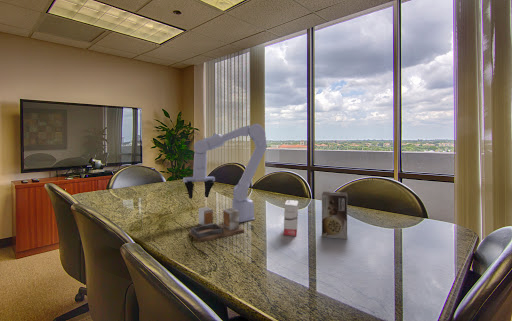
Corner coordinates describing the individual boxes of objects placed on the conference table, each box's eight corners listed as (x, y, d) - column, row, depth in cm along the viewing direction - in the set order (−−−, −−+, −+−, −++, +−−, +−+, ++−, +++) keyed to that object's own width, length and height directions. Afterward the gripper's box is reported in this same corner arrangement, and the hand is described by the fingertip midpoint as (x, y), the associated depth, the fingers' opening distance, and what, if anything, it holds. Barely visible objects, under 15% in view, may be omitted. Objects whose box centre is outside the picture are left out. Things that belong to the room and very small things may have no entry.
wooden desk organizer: (231, 224, 115) (230, 206, 115) (244, 232, 106) (243, 212, 106) (188, 233, 105) (188, 213, 105) (199, 242, 96) (198, 220, 96)
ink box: (297, 236, 101) (297, 205, 100) (283, 235, 102) (283, 204, 101) (298, 229, 109) (298, 200, 109) (285, 228, 110) (285, 199, 110)
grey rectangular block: (207, 222, 120) (207, 206, 119) (213, 226, 114) (213, 209, 114) (198, 223, 117) (198, 208, 117) (204, 227, 112) (204, 211, 112)
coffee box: (347, 233, 103) (347, 192, 102) (347, 239, 97) (347, 195, 96) (322, 231, 106) (323, 190, 105) (321, 237, 100) (321, 194, 99)
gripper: (210, 166, 127) (209, 194, 128) (180, 166, 119) (179, 197, 120) (217, 168, 122) (216, 197, 123) (187, 168, 113) (185, 200, 114)
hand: (198, 197), depth 121 cm, fingers open, 7 cm apart
